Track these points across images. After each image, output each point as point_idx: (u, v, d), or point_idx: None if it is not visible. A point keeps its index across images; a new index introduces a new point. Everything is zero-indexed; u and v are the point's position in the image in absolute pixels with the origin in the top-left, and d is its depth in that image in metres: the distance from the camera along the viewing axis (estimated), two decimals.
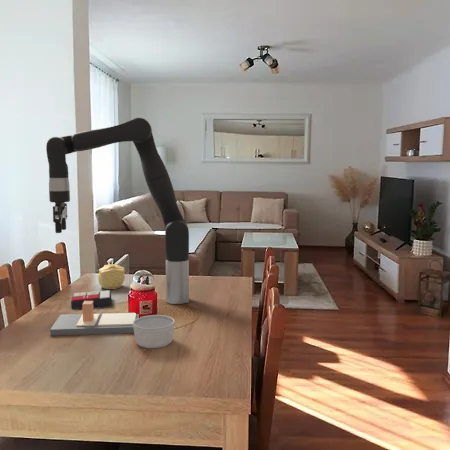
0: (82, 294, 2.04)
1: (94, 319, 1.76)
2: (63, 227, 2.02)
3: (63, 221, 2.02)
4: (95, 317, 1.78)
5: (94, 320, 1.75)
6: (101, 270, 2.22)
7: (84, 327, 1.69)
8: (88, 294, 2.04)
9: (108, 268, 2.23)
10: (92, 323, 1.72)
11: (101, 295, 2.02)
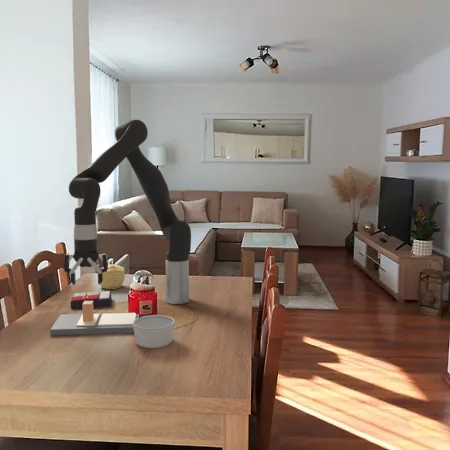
0: (82, 294, 2.04)
1: (94, 319, 1.76)
2: (75, 281, 1.74)
3: (74, 274, 1.74)
4: (95, 317, 1.78)
5: (94, 320, 1.75)
6: None
7: (84, 327, 1.69)
8: (88, 294, 2.03)
9: (108, 268, 2.23)
10: (92, 323, 1.72)
11: (101, 296, 2.01)
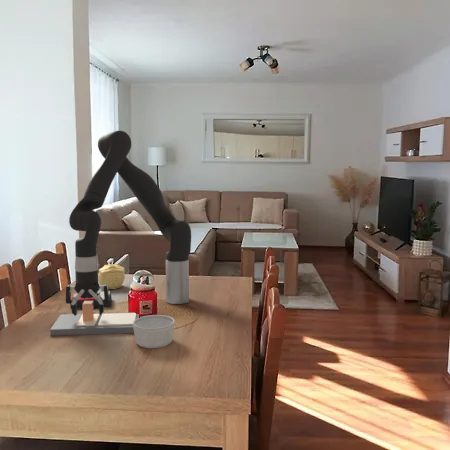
0: None
1: (94, 319, 1.76)
2: (76, 312, 1.75)
3: (76, 305, 1.75)
4: (95, 317, 1.78)
5: (94, 320, 1.75)
6: (101, 270, 2.22)
7: (84, 327, 1.69)
8: None
9: (108, 268, 2.23)
10: (92, 323, 1.72)
11: None
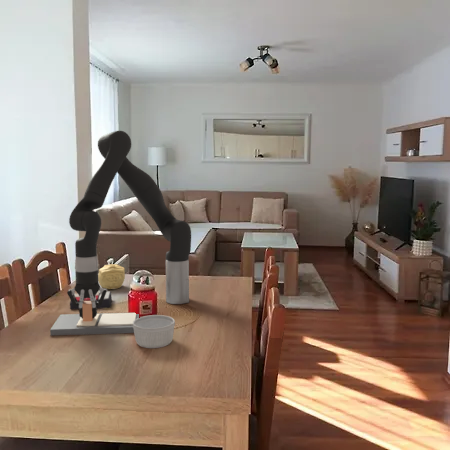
0: None
1: (94, 319, 1.76)
2: None
3: None
4: (95, 317, 1.78)
5: (94, 320, 1.75)
6: (101, 270, 2.22)
7: (84, 327, 1.69)
8: None
9: (108, 268, 2.23)
10: (92, 323, 1.72)
11: (100, 296, 2.01)
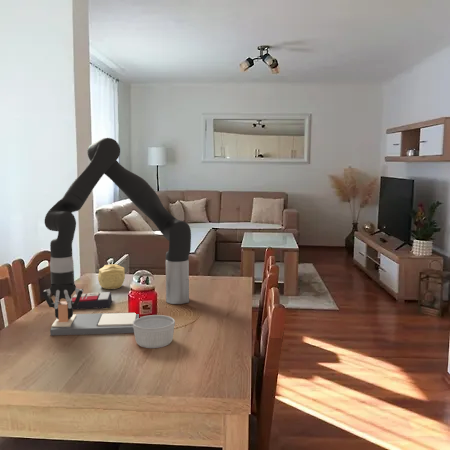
0: (82, 295, 2.03)
1: (70, 320, 1.75)
2: None
3: None
4: (71, 318, 1.77)
5: (70, 321, 1.74)
6: (101, 270, 2.22)
7: (84, 327, 1.69)
8: (87, 295, 2.02)
9: (108, 268, 2.23)
10: (67, 324, 1.71)
11: (100, 296, 2.00)
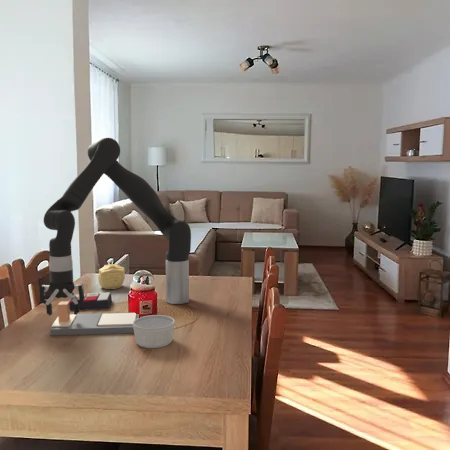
0: None
1: (70, 320, 1.75)
2: (51, 312, 1.75)
3: (51, 305, 1.74)
4: (71, 318, 1.77)
5: (70, 321, 1.74)
6: (101, 270, 2.22)
7: (84, 327, 1.69)
8: (87, 296, 2.02)
9: (108, 268, 2.23)
10: (67, 324, 1.71)
11: (99, 297, 1.99)
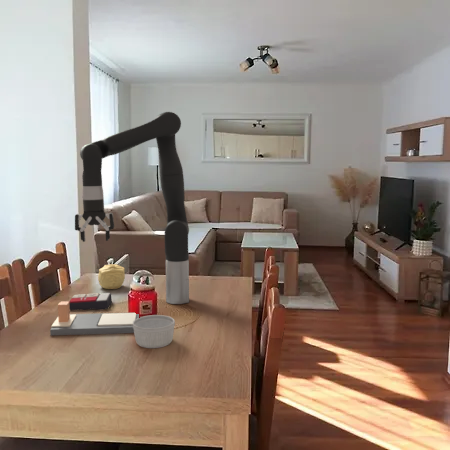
0: (81, 296, 2.02)
1: (70, 320, 1.75)
2: (84, 238, 1.92)
3: (84, 232, 1.92)
4: (71, 318, 1.77)
5: (70, 321, 1.74)
6: (101, 270, 2.22)
7: (84, 327, 1.69)
8: (87, 296, 2.01)
9: (108, 268, 2.23)
10: (67, 324, 1.71)
11: (99, 297, 1.99)
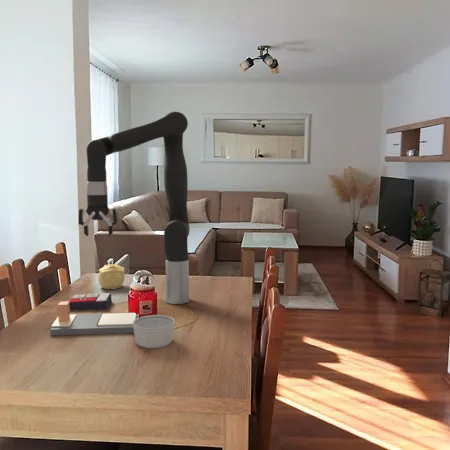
0: (81, 296, 2.01)
1: (70, 320, 1.75)
2: (88, 233, 1.95)
3: (87, 227, 1.95)
4: (71, 318, 1.77)
5: (70, 321, 1.74)
6: (101, 270, 2.22)
7: (84, 327, 1.69)
8: (87, 296, 2.01)
9: (108, 268, 2.23)
10: (67, 324, 1.71)
11: (99, 298, 1.98)
